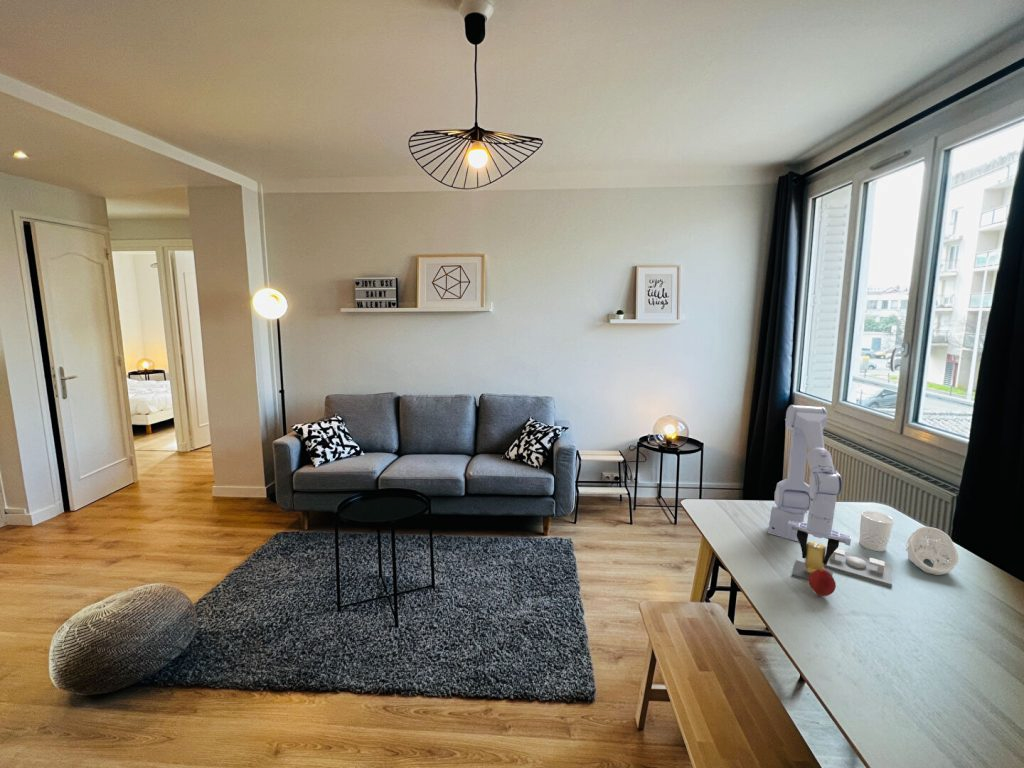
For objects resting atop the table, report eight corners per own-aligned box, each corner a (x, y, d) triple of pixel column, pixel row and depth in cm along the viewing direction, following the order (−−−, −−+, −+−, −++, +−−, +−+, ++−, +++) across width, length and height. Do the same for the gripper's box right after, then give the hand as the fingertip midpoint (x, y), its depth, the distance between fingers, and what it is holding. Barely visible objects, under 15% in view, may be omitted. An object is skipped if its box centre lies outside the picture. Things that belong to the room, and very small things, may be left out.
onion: (829, 591, 123) (833, 564, 121) (836, 604, 117) (841, 576, 116) (804, 586, 124) (808, 559, 123) (810, 599, 119) (814, 571, 118)
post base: (820, 566, 134) (822, 555, 133) (823, 549, 143) (825, 538, 143) (891, 587, 124) (893, 575, 124) (889, 567, 134) (891, 556, 133)
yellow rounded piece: (808, 559, 134) (810, 537, 133) (826, 564, 131) (828, 542, 130) (801, 569, 129) (803, 547, 128) (820, 576, 126) (822, 552, 125)
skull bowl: (941, 550, 140) (955, 528, 133) (948, 593, 132) (963, 572, 124) (897, 541, 146) (908, 519, 138) (901, 582, 137) (913, 561, 129)
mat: (792, 576, 129) (792, 574, 129) (796, 561, 136) (796, 559, 136) (830, 588, 124) (830, 586, 124) (832, 572, 131) (833, 570, 131)
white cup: (877, 540, 149) (882, 511, 147) (894, 553, 141) (900, 523, 139) (851, 538, 150) (855, 510, 148) (867, 552, 142) (872, 521, 140)
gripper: (788, 512, 128) (782, 557, 131) (853, 528, 119) (845, 575, 122) (791, 503, 134) (786, 546, 136) (853, 518, 125) (846, 564, 127)
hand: (814, 559), depth 129 cm, fingers closed on yellow rounded piece, 4 cm apart
